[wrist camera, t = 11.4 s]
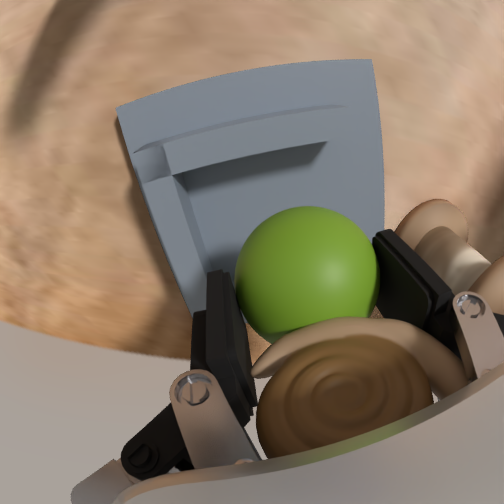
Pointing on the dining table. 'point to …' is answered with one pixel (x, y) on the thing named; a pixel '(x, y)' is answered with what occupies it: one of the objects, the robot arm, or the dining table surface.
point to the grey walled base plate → (254, 158)
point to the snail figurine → (330, 335)
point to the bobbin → (452, 251)
